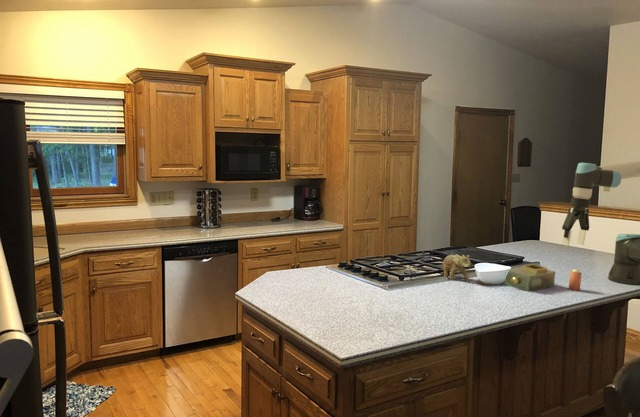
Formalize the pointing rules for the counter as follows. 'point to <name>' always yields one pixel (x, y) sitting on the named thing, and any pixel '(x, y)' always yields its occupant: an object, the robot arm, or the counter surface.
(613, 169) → the robot arm
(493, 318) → the counter surface
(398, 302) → the counter surface
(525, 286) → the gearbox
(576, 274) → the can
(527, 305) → the counter surface
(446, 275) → the figurine
